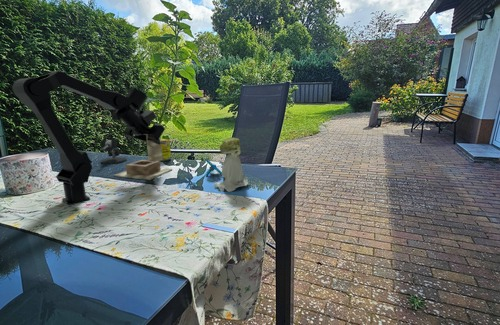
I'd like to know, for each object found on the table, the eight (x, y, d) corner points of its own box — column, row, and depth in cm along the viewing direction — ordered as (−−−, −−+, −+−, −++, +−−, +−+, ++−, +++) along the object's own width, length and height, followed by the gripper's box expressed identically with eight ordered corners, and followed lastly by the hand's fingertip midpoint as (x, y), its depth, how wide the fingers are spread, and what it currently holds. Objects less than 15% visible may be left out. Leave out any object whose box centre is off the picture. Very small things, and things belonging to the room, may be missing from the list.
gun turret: (93, 168, 132) (89, 141, 129) (104, 159, 151) (100, 135, 148) (122, 166, 135) (118, 140, 132) (129, 157, 154) (126, 134, 151)
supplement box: (161, 162, 144) (160, 141, 141) (154, 160, 147) (153, 140, 145) (171, 160, 148) (170, 139, 146) (164, 158, 152) (162, 138, 149)
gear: (225, 174, 115) (207, 158, 113) (215, 185, 115) (197, 169, 113) (222, 171, 126) (206, 156, 124) (214, 180, 125) (197, 166, 123)
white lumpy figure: (255, 185, 106) (255, 137, 102) (232, 194, 97) (231, 141, 92) (232, 179, 114) (231, 134, 109) (208, 187, 104) (206, 138, 100)
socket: (172, 170, 128) (171, 160, 127) (149, 180, 113) (148, 169, 112) (139, 167, 134) (138, 157, 133) (114, 176, 119) (112, 165, 118)
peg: (162, 160, 120) (159, 127, 117) (155, 161, 117) (152, 128, 113) (155, 159, 122) (153, 126, 119) (148, 160, 119) (145, 127, 115)
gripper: (159, 103, 106) (181, 129, 118) (127, 103, 115) (150, 127, 127) (144, 126, 101) (169, 151, 113) (111, 124, 110) (138, 147, 122)
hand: (156, 143), depth 119 cm, fingers closed on peg, 4 cm apart
